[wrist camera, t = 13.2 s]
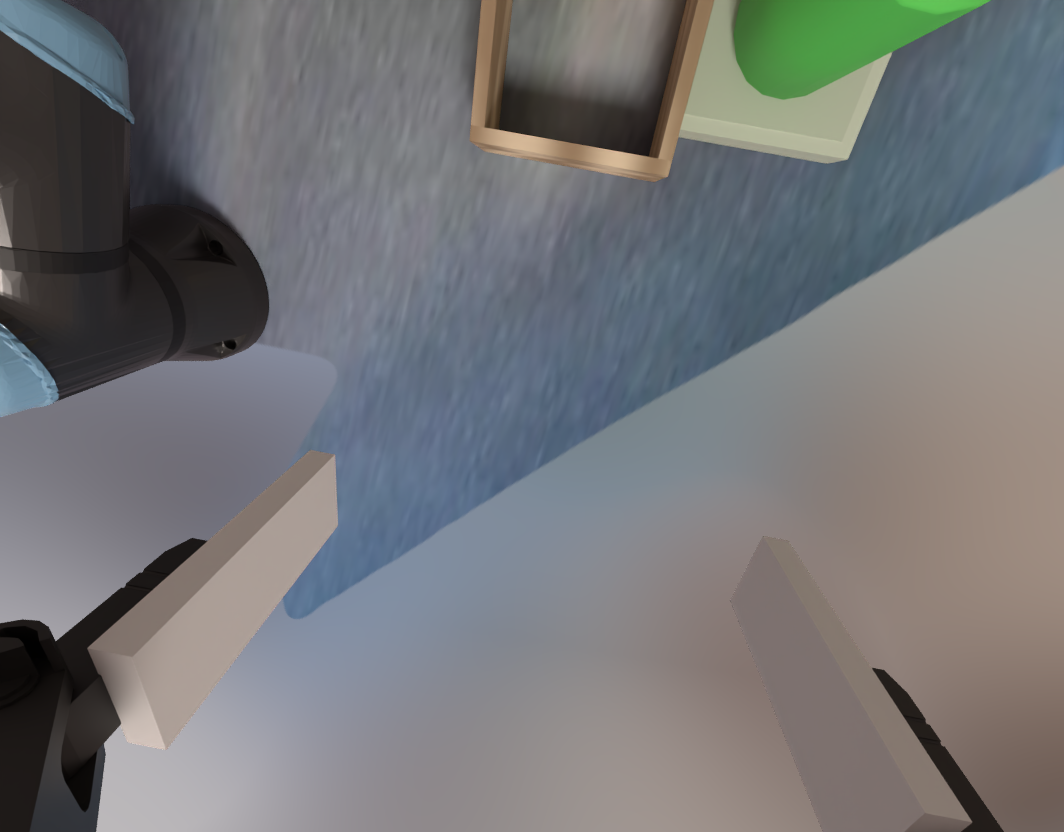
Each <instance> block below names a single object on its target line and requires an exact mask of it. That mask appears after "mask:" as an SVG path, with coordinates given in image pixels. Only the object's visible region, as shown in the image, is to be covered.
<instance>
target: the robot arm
mask: <svg viewBox="0 0 1064 832" xmlns="http://www.w3.org/2000/svg"><path fill="white" fill-rule="evenodd" d="M134 121H135V118H134V115H133V114H132V113H131V111H130V101H129V77H128V63H127V59H126V56H125V54H124V51H123V50H122V48H121V46H120V44H119V43H118V41H117V40H116V39H115V38H114V36H113V35H112V34H111V33H110V32H109V31H108V30H107V29H106V28H105V27H104V26H103V25H101V24H100V23H99V22H98V21H96V20H95V19H93V18H91V17H90V16H88V15H86V14H85V13H83V12H81V11H80V10H78V9H76V8H74V7H73V6H71V5H69V4H67V3H66V2H64V1H62V0H0V417H2V416H6V415H9V414H13V413H16V412H19V411H23V410H26V409H30V408H33V407H43V406H48V405H49V404H51V403H54V402H56V401H58V400H61V399H64V398H66V397H69V396H71V395H74V394H77V393H79V392H82V391H85V390H88V389H90V388H93V387H96V386H98V385H101V384H104V383H106V382H109V381H112V380H114V379H117V378H119V377H122V376H125V375H127V374H130V373H133V372H135V371H138V370H141V369H143V368H146V367H149V366H151V365H154V364H156V363H160V362H162V361H212V360H219V359H223V358H227V357H229V356H232V355H234V354H236V353H239V352H242V351H244V350H246V349H247V348H249V347H250V346H252V345H253V344H254V343H255V342H256V341H257V340H258V338H259V337H260V336H261V334H262V332H263V330H264V328H265V325H266V322H267V318H268V310H269V302H268V293H267V288H266V284H265V281H264V278H263V275H262V273H261V270H260V268H259V266H258V264H257V262H256V260H255V259H254V257H253V255H252V254H251V252H250V251H249V250H248V248H247V247H246V246H245V244H244V243H243V242H242V241H241V240H240V238H239V237H238V236H237V235H236V234H235V233H234V232H233V231H231V230H230V229H229V228H228V227H227V226H226V225H224V224H223V223H222V222H220V221H219V220H217V219H216V218H214V217H212V216H211V215H209V214H207V213H205V212H203V211H200V210H198V209H195V208H192V207H188V206H183V205H169V204H150V205H144V206H139V207H135V208H132V209H130V135H131V124H134ZM337 526H338V517H337V493H336V469H335V455H334V454H328V453H323V452H318V451H312V450H310V451H309V452H308V453H306V454H305V455H304V456H303V457H302V458H301V459H300V460H299V461H297V462H296V463H295V464H294V465H293V466H292V467H291V468H290V469H288V470H287V471H286V472H285V473H284V474H283V475H282V476H281V477H279V478H278V479H277V480H276V481H275V482H274V483H273V484H271V485H270V486H269V487H268V488H267V489H266V490H265V491H264V492H263V493H261V494H260V495H259V496H258V497H257V498H256V499H255V500H254V501H252V502H251V503H250V504H249V505H248V506H247V507H246V508H244V509H243V510H242V511H241V512H240V513H239V514H238V515H237V516H236V517H234V518H233V519H232V520H231V521H230V522H229V523H228V524H226V525H225V526H224V527H223V528H222V529H221V530H220V531H219V532H217V533H216V534H215V535H214V536H213V537H212V538H211V539H210V540H208V541H205V540H200V539H195V538H191V539H189V540H187V541H185V542H183V543H181V544H179V545H177V546H175V547H173V548H171V549H169V550H167V551H165V552H164V553H163V554H162V555H160V556H159V557H158V558H157V559H156V560H154V561H153V562H152V563H151V564H149V565H148V566H147V567H146V568H145V569H144V571H143V572H142V573H139V574H137V575H136V576H135V577H134V578H132V579H131V580H130V581H129V582H128V583H126V586H125V587H124V588H120V589H119V590H118V591H117V592H115V593H114V594H113V595H112V596H111V597H109V598H108V599H107V600H106V601H105V602H103V603H102V604H101V605H100V606H98V607H97V608H96V609H95V610H93V611H92V612H91V613H90V614H89V615H87V616H86V617H85V618H84V619H83V620H81V621H80V622H79V623H78V624H76V625H75V626H74V627H73V628H72V629H70V630H69V631H68V632H67V633H65V634H64V635H63V636H62V637H61V638H59V639H58V640H57V641H55V639H54V637H53V635H52V633H51V631H50V629H49V627H48V626H46V625H45V624H43V623H42V622H40V621H35V620H17V621H11V622H5V623H0V832H96V827H97V818H98V811H99V803H100V795H101V787H102V779H103V771H104V763H105V755H106V754H105V748H104V742H105V741H106V740H107V739H108V738H109V737H110V736H111V735H112V733H113V732H114V731H115V730H116V729H117V728H118V727H119V726H120V725H121V728H122V730H123V733H124V735H125V737H126V739H127V742H129V743H134V744H139V745H144V746H149V747H154V748H159V749H164V750H167V749H168V747H169V746H170V744H171V743H172V742H173V741H174V739H175V738H176V737H177V735H178V734H179V733H180V731H181V730H182V729H183V728H184V726H185V725H186V724H187V722H188V721H189V720H190V718H191V717H192V716H193V715H194V713H195V712H196V711H197V709H198V708H199V707H200V705H201V704H202V703H203V701H204V700H205V699H206V697H207V696H208V695H209V694H210V692H211V691H212V689H213V688H214V687H215V686H216V684H217V683H218V682H219V680H220V679H221V678H222V677H223V675H224V674H225V672H226V671H227V670H228V669H229V667H230V666H231V665H232V663H233V662H234V661H235V660H236V658H237V657H238V656H239V654H240V653H241V652H242V650H243V649H244V648H245V646H246V645H247V644H248V642H249V641H250V640H251V639H252V637H253V636H254V635H255V633H256V632H257V631H258V629H259V628H260V627H261V626H262V624H263V623H264V622H265V620H266V619H267V618H268V616H269V615H270V614H271V612H272V611H273V610H274V608H275V607H276V606H277V605H278V603H279V602H280V601H281V599H282V598H283V597H284V595H285V594H286V593H287V591H288V590H289V589H290V588H291V586H292V585H293V584H294V582H295V581H296V580H297V578H298V577H299V576H300V574H301V573H302V572H303V571H304V569H305V568H306V567H307V565H308V564H309V563H310V561H311V560H312V559H313V557H314V556H315V555H316V554H317V552H318V551H319V550H320V548H321V547H322V546H323V544H324V543H325V542H326V540H327V539H328V538H329V537H330V535H331V534H332V533H333V531H334V530H335V529H336V527H337ZM730 602H731V604H732V607H733V609H734V612H735V614H736V617H737V619H738V622H739V624H740V627H741V629H742V632H743V634H744V637H745V639H746V641H747V644H748V647H749V649H750V652H751V654H752V657H753V659H754V662H755V664H756V667H757V669H758V672H759V674H760V677H761V679H762V682H763V684H764V687H765V689H766V692H767V694H768V697H769V699H770V702H771V704H772V706H773V709H774V712H775V714H776V717H777V719H778V721H779V724H780V727H781V729H782V731H783V734H784V737H785V739H786V741H787V744H788V746H789V749H790V751H791V754H792V756H793V759H794V761H795V764H796V766H797V769H798V771H799V774H800V776H801V779H802V781H803V784H804V786H805V789H806V791H807V794H808V796H809V799H810V801H811V804H812V806H813V809H814V811H815V814H816V816H817V819H818V821H819V824H820V826H821V829H822V831H823V832H1004V831H1003V830H1002V829H1001V827H1000V825H999V824H998V823H997V821H996V820H995V818H994V817H993V815H992V814H991V813H990V811H989V810H988V809H987V807H986V805H985V804H984V802H983V801H982V800H981V798H980V797H979V795H978V794H977V792H976V791H975V789H974V788H973V787H972V785H971V784H970V782H969V781H968V779H967V778H966V777H965V775H964V774H963V772H962V771H961V770H960V768H959V766H958V765H957V764H956V762H955V761H954V759H953V758H952V756H951V755H950V754H949V752H948V751H947V749H946V748H945V747H943V746H942V745H941V743H940V742H941V741H940V739H939V738H938V736H937V735H936V733H935V732H934V731H933V729H932V728H931V726H930V725H928V724H926V722H925V718H924V716H923V715H922V713H921V712H920V710H919V709H918V707H917V706H916V705H915V703H914V702H913V700H912V699H911V697H910V696H909V695H908V693H907V692H906V691H905V690H904V689H902V687H901V686H900V685H898V684H897V682H896V681H894V679H893V678H891V677H890V676H889V675H888V674H887V673H886V672H885V671H884V670H881V669H876V668H871V666H870V665H869V663H868V662H867V660H866V659H865V657H864V656H863V654H862V653H861V651H860V650H859V648H858V647H857V645H856V643H855V642H854V641H853V639H852V637H851V636H850V634H849V633H848V631H847V630H846V628H845V627H844V625H843V624H842V622H841V621H840V619H839V617H838V616H837V614H836V613H835V611H834V610H833V608H832V607H831V605H830V604H829V602H828V601H827V599H826V598H825V596H824V595H823V593H822V591H821V590H820V589H819V587H818V585H817V584H816V582H815V581H814V579H813V578H812V577H811V575H810V573H809V572H808V570H807V569H806V567H805V566H804V564H803V562H802V561H801V560H800V558H799V556H798V555H797V553H796V552H795V550H794V549H793V547H792V546H791V544H790V543H789V541H787V540H782V539H776V538H771V537H766V536H763V537H762V539H761V541H760V543H759V545H758V547H757V549H756V551H755V553H754V554H753V557H752V558H751V560H750V562H749V564H748V566H747V568H746V570H745V572H744V574H743V576H742V578H741V580H740V582H739V584H738V586H737V588H736V590H735V592H734V594H733V596H732V598H731V600H730Z"/></svg>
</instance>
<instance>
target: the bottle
mask: <svg viewBox="0 0 1064 832" xmlns="http://www.w3.org/2000/svg"><path fill="white" fill-rule="evenodd" d="M989 1H990V0H741V2H740V4H739V8H738V13H737V18H736V24H735V29H734V44H735V53H736V61H737V63H738V65H739V67H740V69H741V71H742V73H743V75H744V77H745V79H746V81H747V82H748V83H749V84H750V85H751V86H753V87H754V88H755V89H756V90H757V91H759V92H760V93H761V94H762V95H766V96H770V97H774V98H778V99H782V100H785V99H791V98H796V97H802V96H807V95H808V94H810V93H812V92H814V91H816V90H818V89H820V88H822V87H824V86H826V85H828V84H830V83H832V82H834V81H836V80H838V79H840V78H842V77H844V76H846V75H848V74H850V73H852V72H854V71H856V70H858V69H860V68H862V67H864V66H866V65H867V64H869V63H871V62H873V61H875V60H877V59H879V58H881V57H883V56H885V55H887V54H889V53H891V52H893V51H895V50H896V49H898V48H900V47H902V46H904V45H906V44H908V43H910V42H912V41H914V40H916V39H918V38H920V37H922V36H924V35H926V34H927V33H929V32H931V31H933V30H935V29H937V28H939V27H941V26H943V25H945V24H947V23H949V22H951V21H953V20H955V19H956V18H958V17H960V16H962V15H964V14H966V13H968V12H970V11H972V10H974V9H976V8H978V7H980V6H981V5H983V4H985V3H987V2H989Z"/></svg>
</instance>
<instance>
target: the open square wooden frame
mask: <svg viewBox="0 0 1064 832" xmlns="http://www.w3.org/2000/svg"><path fill="white" fill-rule="evenodd" d="M512 3H513V0H482V1H481V13H480V25H479V36H478V48H477V60H476V72H475V83H474V95H473V107H472V118H471V130H470V141H471V142H472V143H474V144H475V145H476V146H478V147H479V148H481V149H482V150H483V151H485V152H491V153H496V154H502V155H507V156H513V157H518V158H524V159H530V160H535V161H541V162H546V163H552V164H557V165H563V166H568V167H574V168H579V169H585V170H591V171H596V172H602V173H607V174H613V175H618V176H624V177H629V178H635V179H640V180H646V181H652V182H656V181H658V180H660V179H663V178H665V177H668V174H669V170H670V166H671V163H672V159H673V155H674V151H675V147H676V144H677V140H678V136H679V132H680V128H681V125H682V121H683V117H684V113H685V109H686V106H687V102H688V98H689V94H690V90H691V87H692V83H693V79H694V75H695V71H696V68H697V64H698V60H699V56H700V52H701V49H702V45H703V41H704V37H705V33H706V30H707V26H708V22H709V18H710V14H711V11H712V7H713V3H714V0H687V1H686V5H685V9H684V13H683V17H682V21H681V25H680V30H679V34H678V38H677V42H676V46H675V50H674V54H673V59H672V63H671V67H670V71H669V75H668V79H667V83H666V87H665V92H664V96H663V100H662V104H661V108H660V112H659V116H658V120H657V125H656V129H655V133H654V137H653V141H652V145H651V149H650V153H649V157H647V156H641V155H635V154H630V153H624V152H619V151H613V150H608V149H602V148H596V147H591V146H585V145H580V144H574V143H569V142H563V141H557V140H552V139H546V138H541V137H535V136H530V135H524V134H518V133H513V132H507V131H502V130H499V122H500V113H501V104H502V95H503V85H504V76H505V67H506V58H507V49H508V40H509V30H510V21H511V12H512Z"/></svg>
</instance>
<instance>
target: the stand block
mask: <svg viewBox="0 0 1064 832" xmlns="http://www.w3.org/2000/svg"><path fill="white" fill-rule="evenodd" d="M740 2H741V0H714V3H713V7H712V11H711V14H710V18H709V22H708V26H707V30H706V33H705V37H704V41H703V45H702V49H701V52H700V56H699V60H698V64H697V68H696V71H695V75H694V79H693V83H692V87H691V90H690V94H689V98H688V102H687V106H686V109H685V113H684V117H683V121H682V125H681V128H680V132H679V136H678V137H681V138H687V139H692V140H698V141H703V142H709V143H714V144H720V145H726V146H731V147H737V148H742V149H748V150H754V151H759V152H765V153H770V154H776V155H782V156H787V157H793V158H798V159H804V160H810V161H815V162H821V163H826V164H828V163H833V162H838V161H842V160H847V159H848V157H849V155H850V153H851V150H852V148H853V145H854V143H855V141H856V138H857V136H858V133H859V131H860V129H861V126H862V124H863V121H864V119H865V117H866V114H867V112H868V109H869V107H870V105H871V102H872V100H873V97H874V95H875V93H876V90H877V88H878V85H879V83H880V80H881V78H882V76H883V73H884V71H885V68H886V66H887V64H888V61H889V59H890V56H891V54H892V52H891V53H889V54H887V55H885V56H883V57H881V58H879V59H877V60H875V61H873V62H871V63H869V64H867V65H866V66H864V67H862V68H860V69H858V70H856V71H854V72H852V73H850V74H848V75H846V76H844V77H842V78H840V79H838V80H836V81H834V82H832V83H830V84H828V85H826V86H824V87H822V88H820V89H818V90H816V91H814V92H812V93H810V94H808V95H807V96H802V97H796V98H791V99H785V100H782V99H778V98H774V97H770V96H766V95H762V94H761V93H760V92H759V91H757V90H756V89H755V88H754V87H753V86H751V85H750V84H749V83H748V82H747V81H746V79H745V77H744V75H743V73H742V71H741V69H740V67H739V65H738V63H737V61H736V53H735V44H734V29H735V24H736V18H737V13H738V8H739V4H740Z"/></svg>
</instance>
